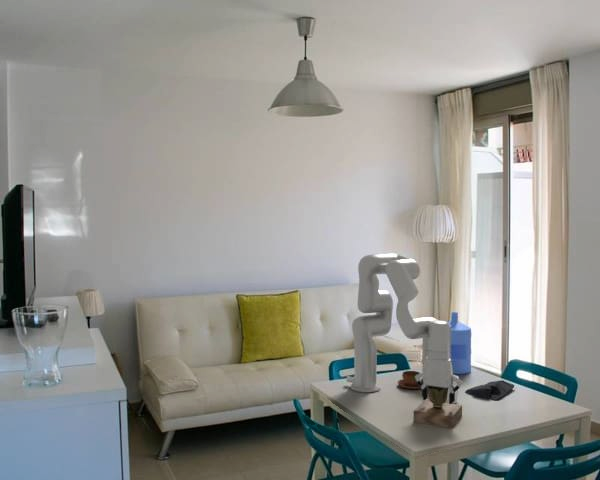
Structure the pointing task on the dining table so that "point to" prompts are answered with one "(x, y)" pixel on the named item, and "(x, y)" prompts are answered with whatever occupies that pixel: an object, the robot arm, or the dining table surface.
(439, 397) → the cup
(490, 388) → the black crumpled fabric piece
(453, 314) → the water jug
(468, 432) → the dining table surface
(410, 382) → the cup and saucer
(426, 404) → the walnut plinth
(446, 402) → the white cup
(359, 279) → the robot arm
